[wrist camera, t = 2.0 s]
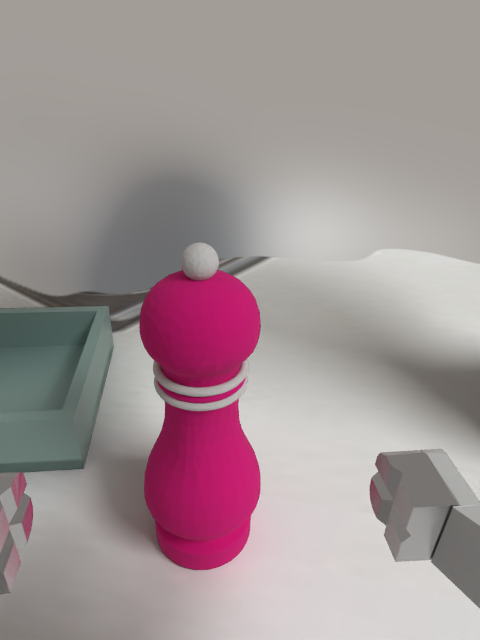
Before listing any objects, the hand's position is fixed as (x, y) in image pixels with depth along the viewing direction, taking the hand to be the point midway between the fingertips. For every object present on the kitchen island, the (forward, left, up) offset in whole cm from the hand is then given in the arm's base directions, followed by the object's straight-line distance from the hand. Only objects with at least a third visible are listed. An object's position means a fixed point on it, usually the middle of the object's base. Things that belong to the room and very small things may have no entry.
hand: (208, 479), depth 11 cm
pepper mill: (-6, -11, -19) cm, 23 cm away
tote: (+2, -32, -19) cm, 37 cm away
